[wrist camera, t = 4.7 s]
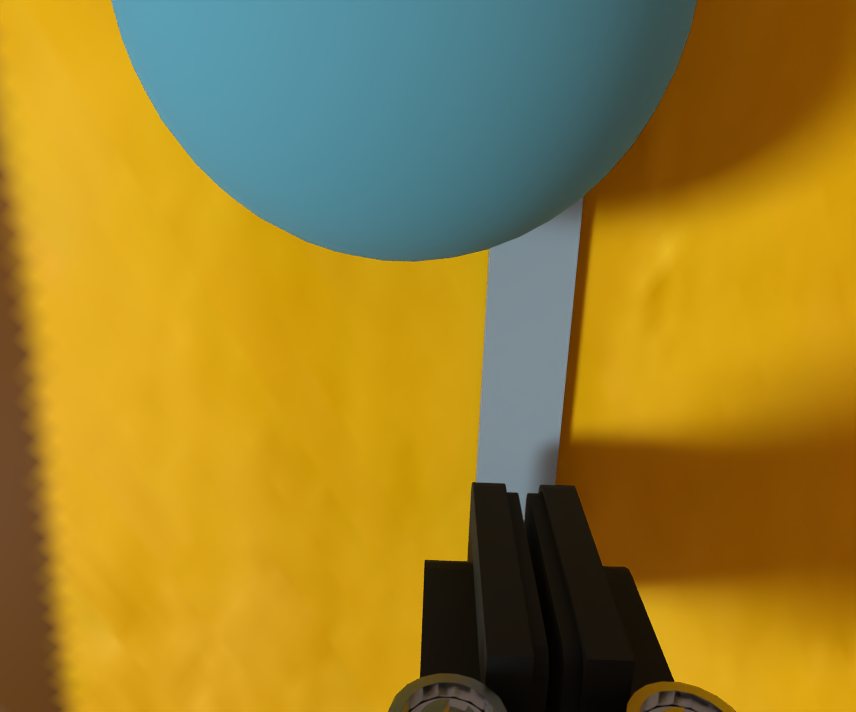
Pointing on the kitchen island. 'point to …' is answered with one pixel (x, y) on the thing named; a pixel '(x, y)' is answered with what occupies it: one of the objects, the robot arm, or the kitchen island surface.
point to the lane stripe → (527, 354)
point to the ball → (405, 108)
